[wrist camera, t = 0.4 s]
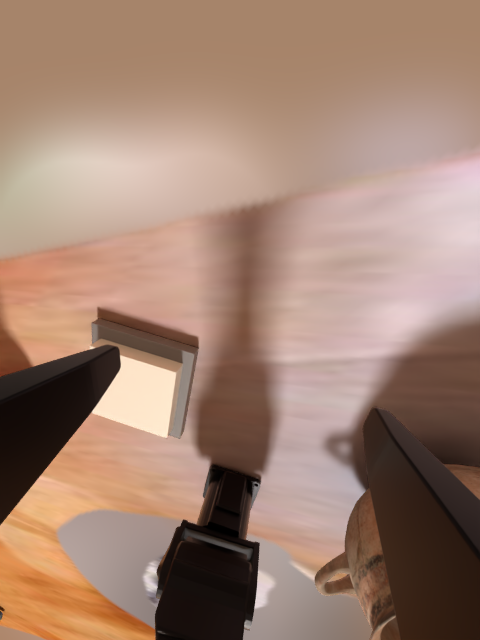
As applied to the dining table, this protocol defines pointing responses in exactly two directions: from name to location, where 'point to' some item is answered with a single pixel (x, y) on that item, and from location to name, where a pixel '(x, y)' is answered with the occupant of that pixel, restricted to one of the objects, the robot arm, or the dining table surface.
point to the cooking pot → (373, 562)
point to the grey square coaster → (146, 379)
